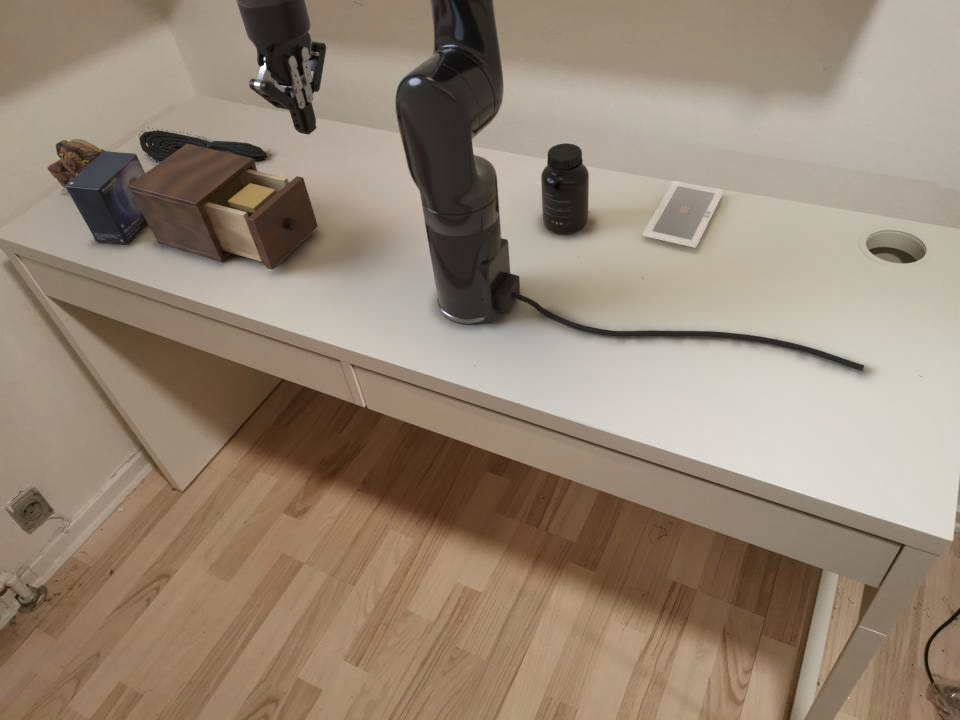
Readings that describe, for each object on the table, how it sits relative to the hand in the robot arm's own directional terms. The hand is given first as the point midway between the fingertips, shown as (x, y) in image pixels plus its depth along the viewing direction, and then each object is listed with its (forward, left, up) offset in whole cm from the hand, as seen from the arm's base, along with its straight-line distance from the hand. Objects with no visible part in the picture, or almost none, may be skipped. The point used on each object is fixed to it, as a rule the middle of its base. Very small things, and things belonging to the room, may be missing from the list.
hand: (307, 130), depth 93 cm
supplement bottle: (-30, -17, -19) cm, 39 cm away
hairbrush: (+40, -14, -19) cm, 47 cm away
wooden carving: (+50, +3, -19) cm, 53 cm away
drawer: (+11, +3, -18) cm, 22 cm away
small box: (+37, +8, -19) cm, 43 cm away
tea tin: (+11, +4, -17) cm, 21 cm away
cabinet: (+22, +4, -19) cm, 29 cm away
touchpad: (-46, -24, -19) cm, 55 cm away
